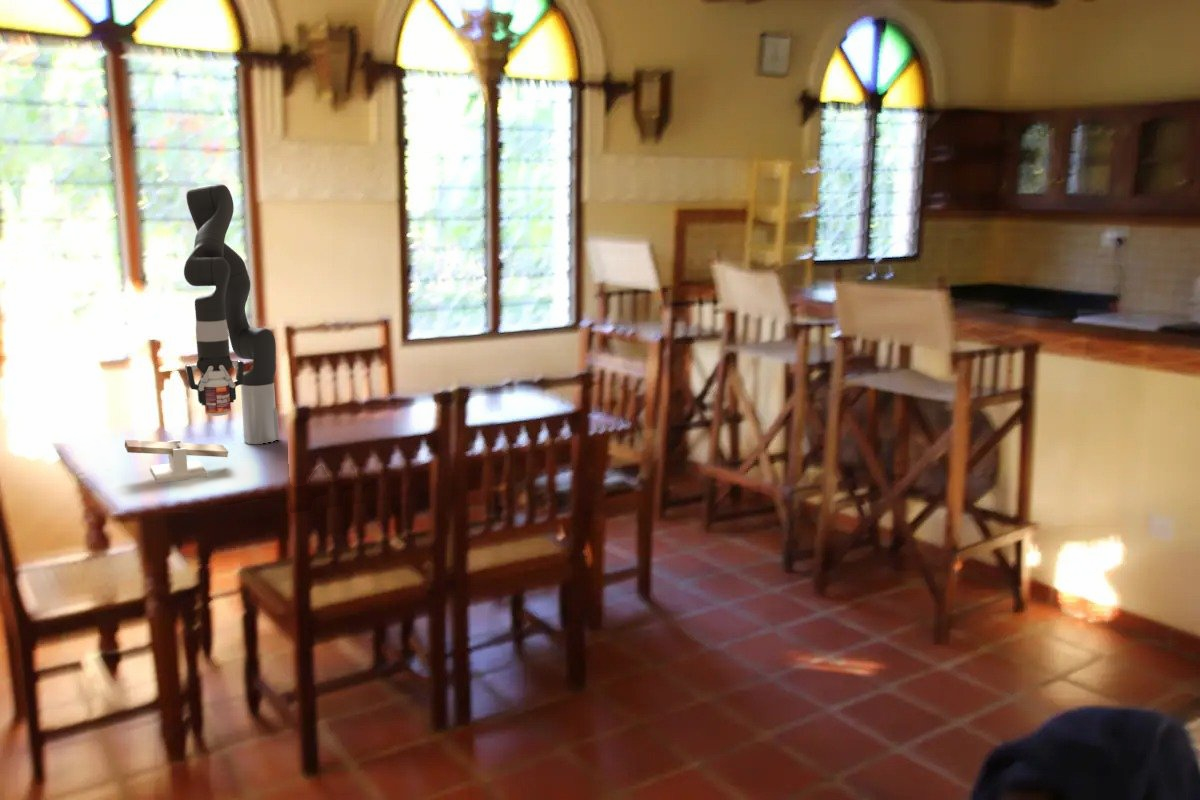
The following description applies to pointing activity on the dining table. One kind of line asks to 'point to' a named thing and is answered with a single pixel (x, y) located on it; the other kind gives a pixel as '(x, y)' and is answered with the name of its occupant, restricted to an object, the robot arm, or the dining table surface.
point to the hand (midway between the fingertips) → (217, 403)
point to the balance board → (168, 447)
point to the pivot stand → (178, 467)
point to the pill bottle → (217, 394)
